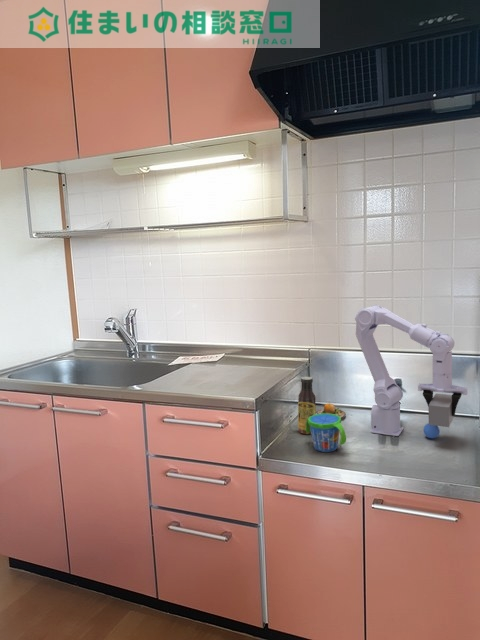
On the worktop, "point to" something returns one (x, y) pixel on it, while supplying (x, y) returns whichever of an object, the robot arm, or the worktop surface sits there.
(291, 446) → the worktop surface
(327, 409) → the fruit bowl
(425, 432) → the ball
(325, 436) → the snack cup
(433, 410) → the grey rectangular block
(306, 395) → the sauce bottle
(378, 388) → the robot arm
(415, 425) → the worktop surface
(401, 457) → the worktop surface
